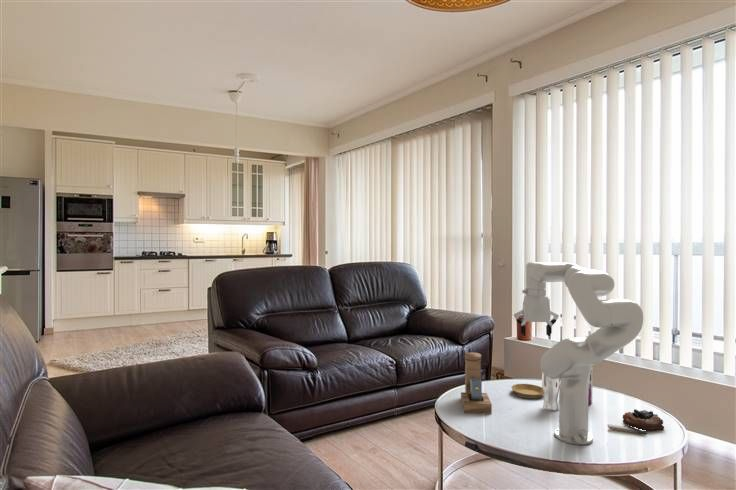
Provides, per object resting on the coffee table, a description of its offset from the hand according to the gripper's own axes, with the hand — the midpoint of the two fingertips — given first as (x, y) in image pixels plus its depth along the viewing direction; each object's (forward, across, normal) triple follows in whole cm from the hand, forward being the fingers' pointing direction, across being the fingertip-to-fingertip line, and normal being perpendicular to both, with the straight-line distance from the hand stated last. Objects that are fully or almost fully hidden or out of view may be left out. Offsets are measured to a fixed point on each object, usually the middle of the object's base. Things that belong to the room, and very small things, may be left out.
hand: (535, 335), depth 186 cm
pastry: (+33, +38, -7) cm, 50 cm away
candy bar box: (+32, +22, +17) cm, 43 cm away
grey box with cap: (+32, -23, +7) cm, 40 cm away
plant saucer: (+33, +3, +25) cm, 41 cm away
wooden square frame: (+32, -23, +10) cm, 41 cm away
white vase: (+32, +8, +8) cm, 34 cm away
